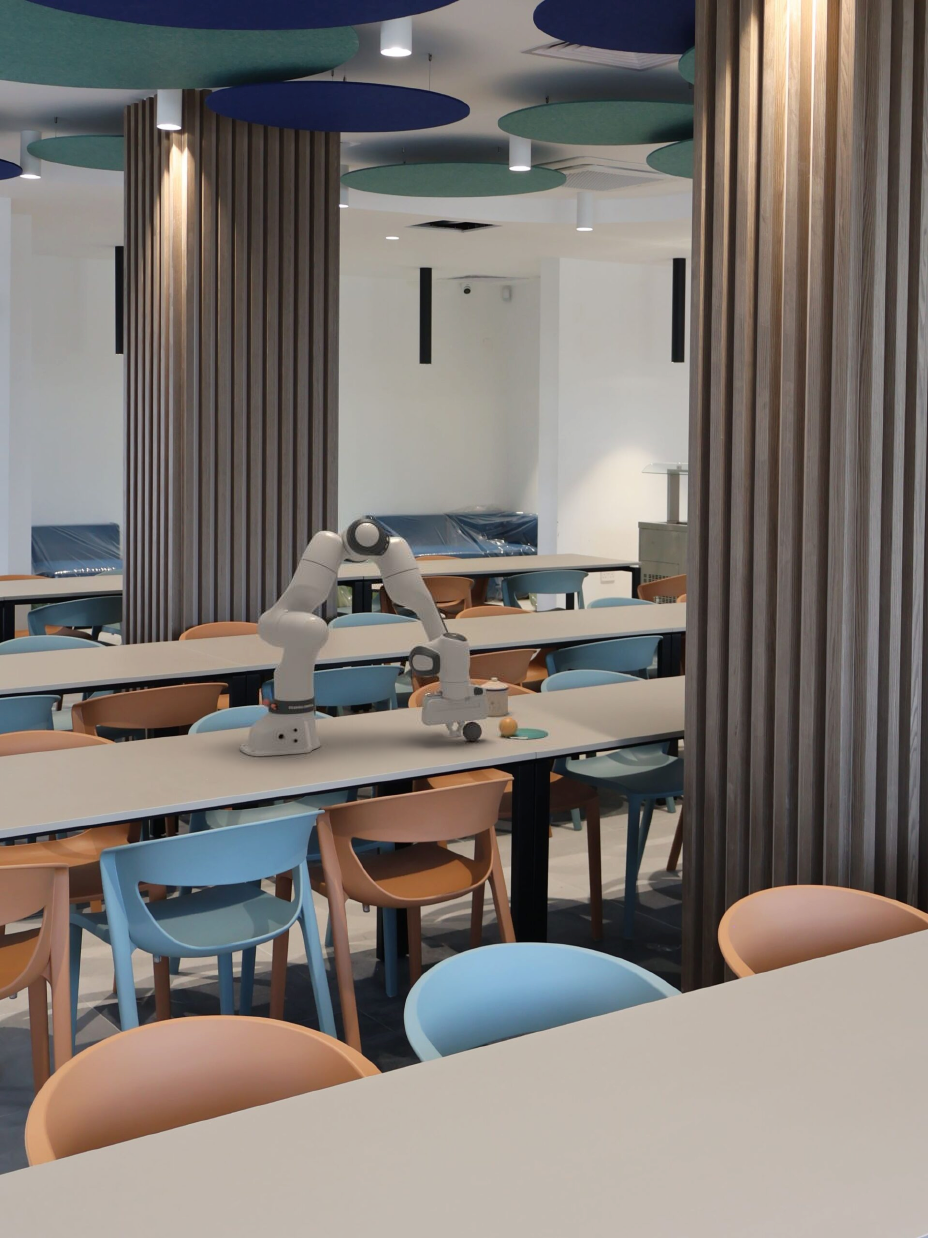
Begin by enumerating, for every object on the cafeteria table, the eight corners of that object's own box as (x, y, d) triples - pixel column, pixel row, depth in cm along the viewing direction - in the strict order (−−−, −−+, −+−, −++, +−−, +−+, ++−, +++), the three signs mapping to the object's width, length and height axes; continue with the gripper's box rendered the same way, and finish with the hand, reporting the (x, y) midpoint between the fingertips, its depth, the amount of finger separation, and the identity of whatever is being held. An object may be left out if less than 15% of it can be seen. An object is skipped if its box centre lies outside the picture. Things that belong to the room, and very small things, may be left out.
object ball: (512, 715, 371) (524, 726, 373) (503, 712, 376) (515, 723, 378) (501, 730, 369) (513, 741, 372) (491, 726, 374) (504, 738, 377)
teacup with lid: (499, 710, 412) (499, 674, 410) (513, 715, 404) (513, 678, 403) (467, 714, 406) (466, 678, 405) (481, 719, 398) (480, 682, 397)
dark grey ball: (481, 720, 366) (487, 738, 367) (473, 716, 371) (478, 733, 372) (465, 729, 364) (471, 746, 365) (456, 724, 369) (462, 742, 370)
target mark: (515, 741, 367) (515, 740, 367) (492, 732, 379) (492, 731, 379) (557, 736, 374) (557, 735, 374) (532, 727, 386) (532, 726, 386)
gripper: (427, 695, 356) (427, 743, 358) (491, 688, 366) (491, 735, 368) (417, 691, 362) (417, 739, 364) (480, 685, 371) (480, 731, 373)
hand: (455, 737), depth 366 cm, fingers closed
